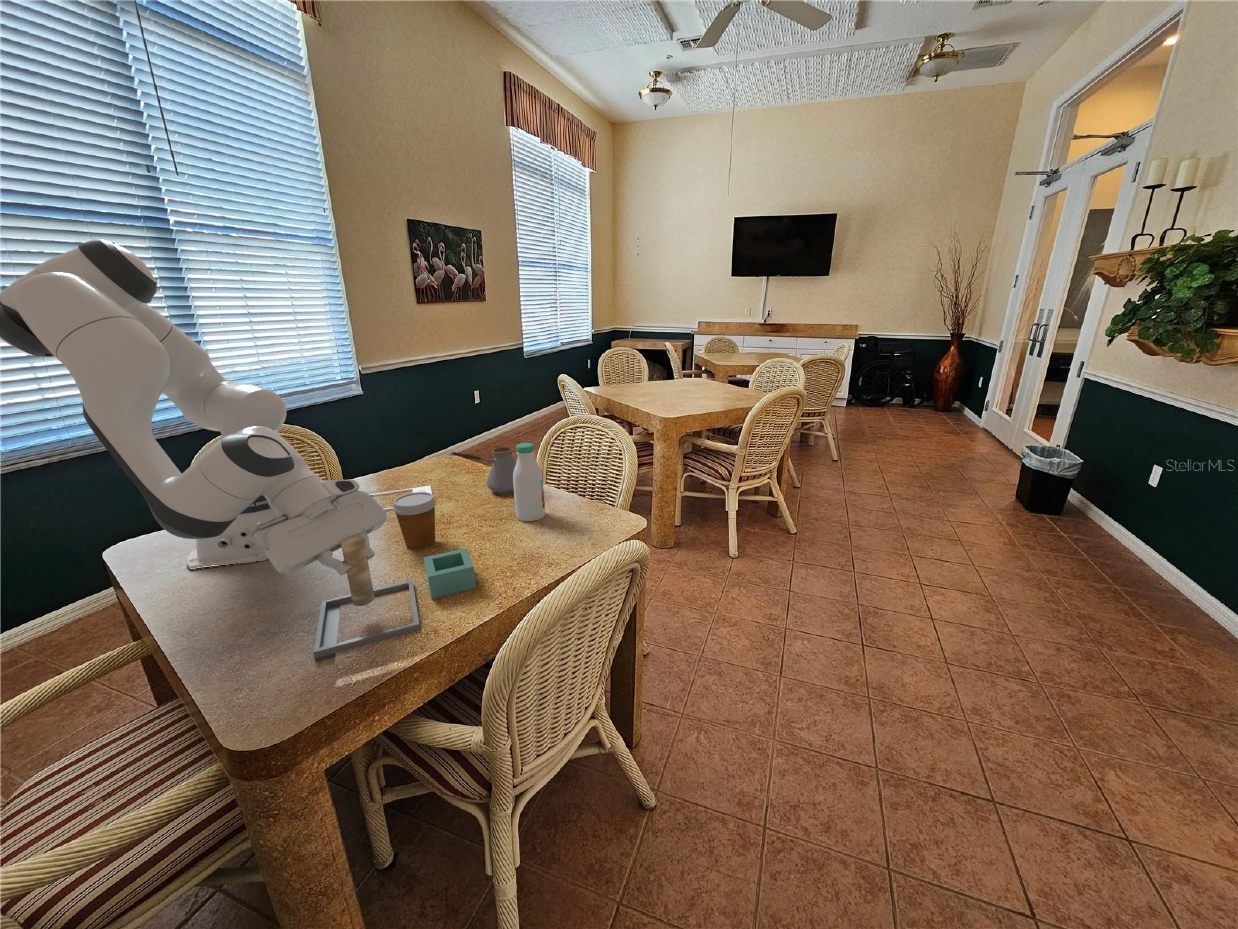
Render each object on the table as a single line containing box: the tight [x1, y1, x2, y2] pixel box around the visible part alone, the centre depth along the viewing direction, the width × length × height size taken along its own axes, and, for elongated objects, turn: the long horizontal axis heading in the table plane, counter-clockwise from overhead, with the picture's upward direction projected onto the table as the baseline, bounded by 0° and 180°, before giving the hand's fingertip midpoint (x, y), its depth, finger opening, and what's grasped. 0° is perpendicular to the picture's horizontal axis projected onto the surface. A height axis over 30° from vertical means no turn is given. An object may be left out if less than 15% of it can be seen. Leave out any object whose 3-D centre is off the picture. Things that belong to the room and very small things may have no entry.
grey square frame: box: [312, 579, 421, 662], centre depth 89 cm, size 16×16×2 cm
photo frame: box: [368, 485, 433, 512], centre depth 145 cm, size 15×1×18 cm
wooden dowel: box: [341, 535, 376, 607], centre depth 86 cm, size 4×4×12 cm
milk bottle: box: [513, 442, 546, 522], centre depth 129 cm, size 8×8×20 cm
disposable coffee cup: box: [391, 492, 437, 550], centre depth 115 cm, size 10×10×12 cm
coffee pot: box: [449, 446, 517, 495], centre depth 146 cm, size 21×12×15 cm, turn 125°
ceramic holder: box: [423, 548, 477, 600], centre depth 99 cm, size 8×8×6 cm
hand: (359, 565), depth 85 cm, fingers closed on wooden dowel, 3 cm apart
